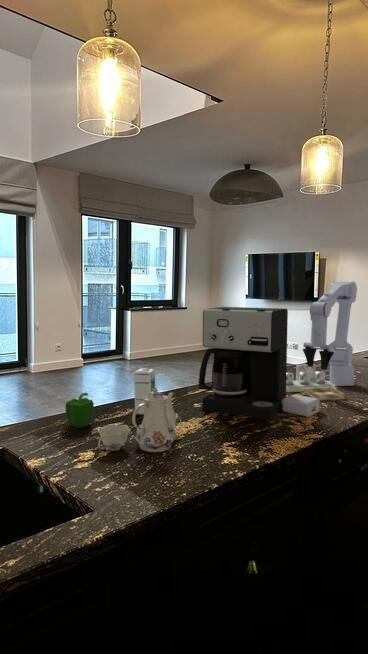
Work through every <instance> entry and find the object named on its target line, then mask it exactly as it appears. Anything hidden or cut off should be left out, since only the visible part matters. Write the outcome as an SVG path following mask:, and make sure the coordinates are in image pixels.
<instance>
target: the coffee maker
mask: <svg viewBox="0 0 368 654" xmlns="http://www.w3.org/2000/svg"><path fill="white" fill-rule="evenodd" d="M288 314H289V311H288V308H279V307H277V308H276V307H275V308H274V307H245V306H243V307H240V306H238V307H237V306H220V307H218V306H217V307H209V308H204V309H203V311H202V346H203V348H207V349H206V351H205V353H204V356H203V357H202V360H201V363H200V369H199V376H198V390H202V391H203V390H205V391H212V392H211V393H209V394H207V395H206V396H204V397H202V399H201V400H202V406H201V407H202V409H201V410H202V411H205V412H213V413H219V414H228V415H234V416H240V417H247V418H256V419H263V420H269V421H270V420H271V419H273V418H274V417H275V416H276V415H277V414H278V413H279V412H281V411H283V410H282V405H281V401H282V399H283V398H286V397H287V392H286V372H287V368H288V367H287V361H288V360H287V359H288V356H287V355H288V319H289V316H288ZM211 354H213V363H212V364H213V365H212V368H211V369H212V371H211V384H206V372H207V367H208V363H209V360H210V356H211Z"/></svg>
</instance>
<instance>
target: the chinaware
mask: <svg viewBox="0 0 368 654" xmlns="http://www.w3.org/2000/svg"><path fill="white" fill-rule="evenodd" d="M173 394H174V392H169V393H168V395H166V394H165V395H164V394H162V392H160V391H159V390H158V388H157V387H156V386H155V387H154V389H153V392H150V393H149V395H146V396H144V397H143V399H144V402H145V403H143V404H140V405H138V406H137V407H136V409H135V408H134V410H133V412H132V417H131V418H132V419H131V422H132V424H133V426H134V428H136V432H135V434H134V438H135V441H136V442H137V443H138V444H139V448H140V450H141V451H144V452H149V453H160V452H166V451H168V450H170V449H171V448H172V443H173V442H174V441H175V440H176V437H177V434H176V431H175V430H176V429H175V428H179V427H181V425H182V419H181V417H179V416H178V415H179V414H178V413H175V410H174V406H173V402H172V401H173V400H172V397H173ZM144 405H145V406H144ZM142 406H143V407H142ZM140 407H142V408H143V410H145V414H143V419H142V422H141V424H140V426H138V425H137V421H136V418H137V417H136V416H137V414H136V413H137V411H138V410H139V408H140ZM177 419H179V424H178V425H177V426H176V423H177ZM131 431H132V430H131V428H129V426H128V425H126V424H120V425H116V424H107V425H105V426H104V427H99V428H97V433H98V434H99V435H100V438H99V440H98V448H99V449H100V450H104V449H105V450H106V451H108V450H110V451H112V452H113V451H120V450H121V448H122V447H121V446H123V445H124V444H125V443H126V442H127V439H128V436H129V433H131ZM101 441H102V443H103V444H104V447H101Z"/></svg>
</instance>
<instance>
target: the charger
mask: <svg viewBox="0 0 368 654" xmlns="http://www.w3.org/2000/svg"><path fill="white" fill-rule="evenodd" d="M281 405H282V410H281V411H282V412H283V413H288V414H293V415H297V416H298V415H299V416H303V417H307V418H309V417H311V416H313V415H316V414H317V413H319V411H320V400H319V399H316V398H312V397H310V396H305V395H300V394H291V395H289V396H286V398H283V399H282V401H281Z"/></svg>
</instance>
